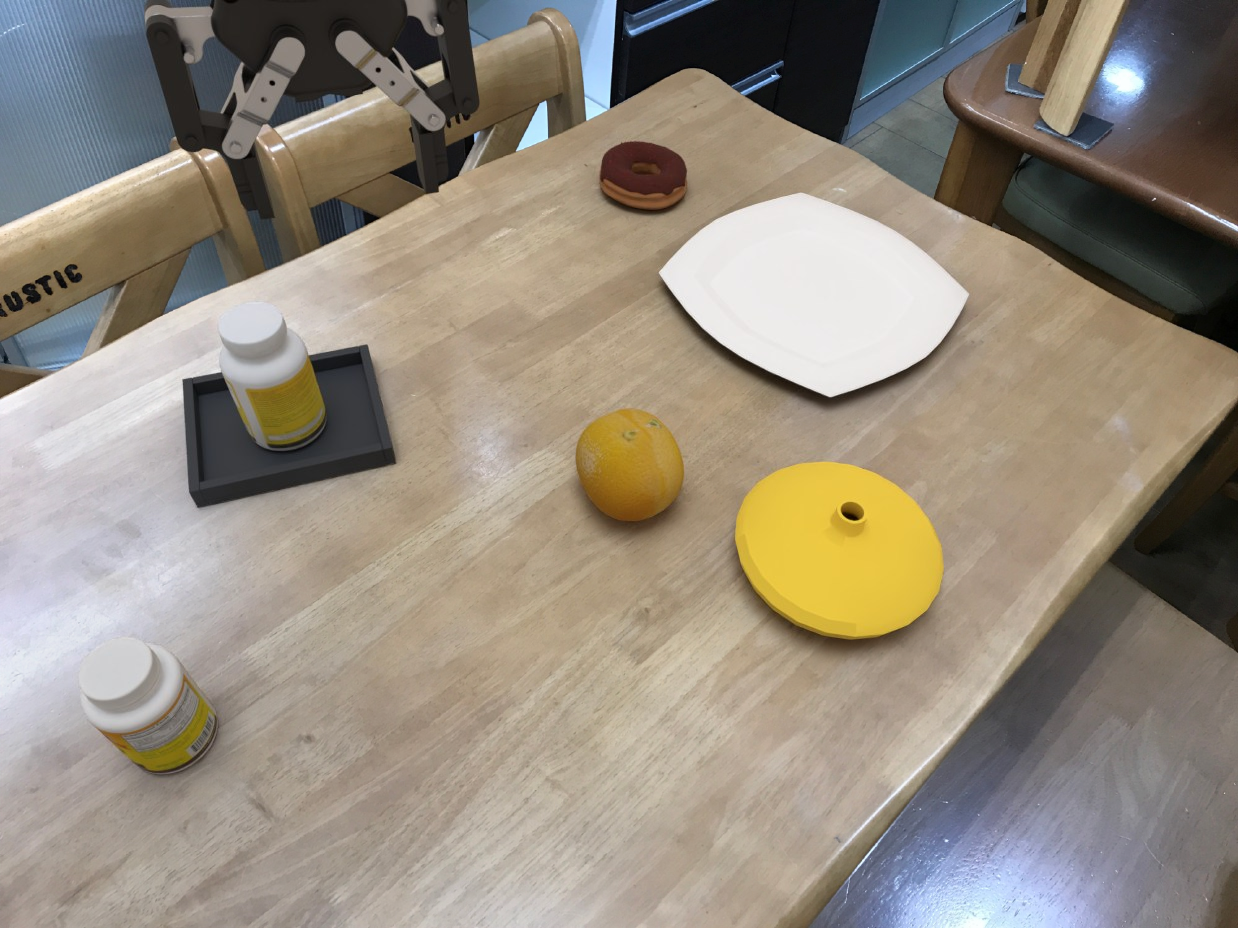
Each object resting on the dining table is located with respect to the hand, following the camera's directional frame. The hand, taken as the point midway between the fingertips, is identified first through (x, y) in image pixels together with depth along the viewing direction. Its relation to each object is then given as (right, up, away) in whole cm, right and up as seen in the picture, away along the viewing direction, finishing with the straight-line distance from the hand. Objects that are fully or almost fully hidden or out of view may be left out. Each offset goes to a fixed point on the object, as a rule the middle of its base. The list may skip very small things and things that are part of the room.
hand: (350, 198), depth 47 cm
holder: (-14, -11, +28) cm, 33 cm away
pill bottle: (-14, -11, +28) cm, 33 cm away
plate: (+34, +2, +42) cm, 54 cm away
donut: (+17, +17, +53) cm, 58 cm away
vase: (+31, -22, +22) cm, 44 cm away
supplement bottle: (-15, -32, +11) cm, 37 cm away
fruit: (+15, -17, +25) cm, 34 cm away
